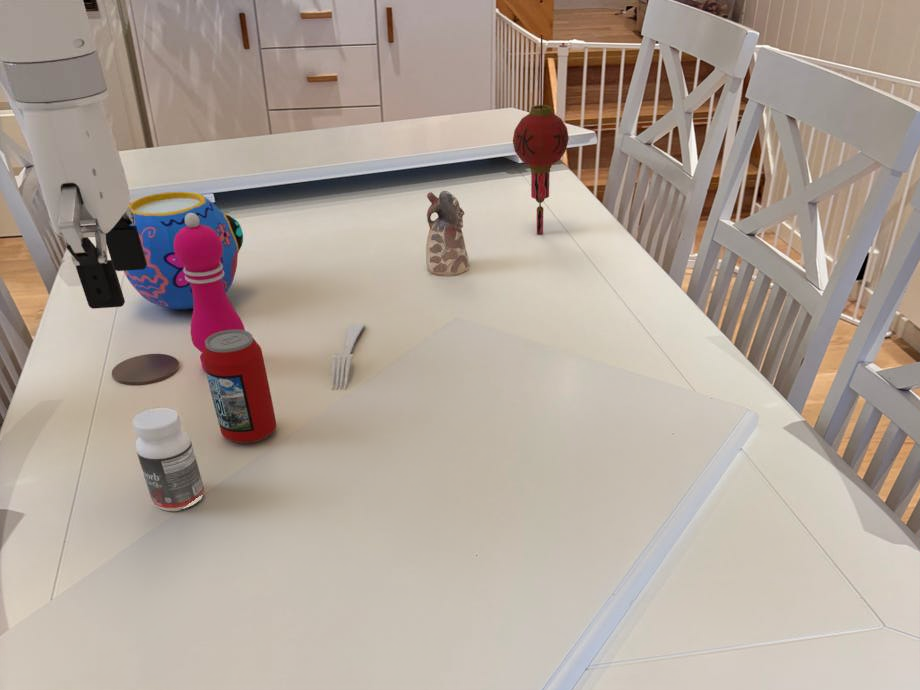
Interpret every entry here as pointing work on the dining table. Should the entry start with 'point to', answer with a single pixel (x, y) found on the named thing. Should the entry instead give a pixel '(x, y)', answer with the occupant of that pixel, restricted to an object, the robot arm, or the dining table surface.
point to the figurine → (445, 237)
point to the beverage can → (239, 386)
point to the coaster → (145, 369)
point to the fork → (345, 354)
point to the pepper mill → (205, 281)
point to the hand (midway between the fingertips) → (120, 287)
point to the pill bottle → (167, 459)
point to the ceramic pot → (157, 233)
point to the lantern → (540, 147)
